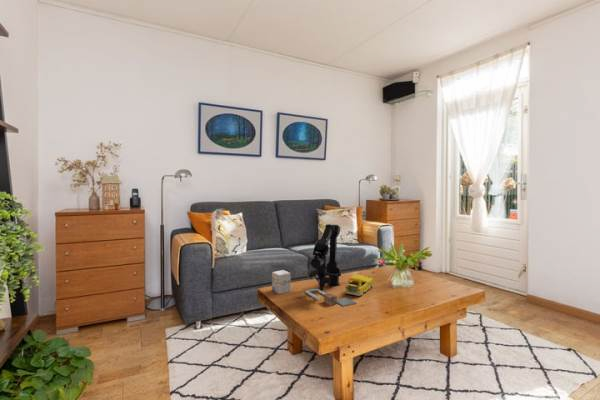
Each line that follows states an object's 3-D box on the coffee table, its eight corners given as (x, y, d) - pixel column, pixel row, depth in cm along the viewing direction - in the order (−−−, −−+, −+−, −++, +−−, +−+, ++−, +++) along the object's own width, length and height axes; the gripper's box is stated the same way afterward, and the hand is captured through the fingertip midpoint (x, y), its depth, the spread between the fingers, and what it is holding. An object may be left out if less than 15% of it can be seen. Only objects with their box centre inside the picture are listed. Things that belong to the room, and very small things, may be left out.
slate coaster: (346, 298, 184) (346, 297, 184) (356, 303, 176) (356, 302, 176) (333, 300, 180) (333, 299, 180) (343, 306, 172) (343, 305, 172)
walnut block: (330, 300, 181) (330, 292, 181) (336, 304, 176) (336, 296, 175) (323, 301, 179) (323, 294, 179) (329, 305, 173) (329, 297, 173)
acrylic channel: (317, 290, 197) (317, 288, 197) (329, 297, 185) (329, 295, 185) (305, 292, 193) (305, 290, 193) (317, 300, 181) (317, 298, 181)
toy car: (375, 287, 205) (375, 272, 204) (361, 299, 184) (361, 282, 183) (357, 284, 211) (357, 269, 211) (341, 294, 191) (341, 278, 190)
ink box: (271, 290, 197) (271, 271, 196) (282, 287, 202) (283, 269, 201) (279, 294, 190) (279, 275, 189) (290, 291, 195) (291, 272, 194)
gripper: (304, 260, 192) (304, 286, 193) (311, 269, 174) (310, 297, 174) (322, 260, 194) (322, 285, 195) (330, 268, 176) (330, 296, 177)
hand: (321, 290), depth 185 cm, fingers closed
